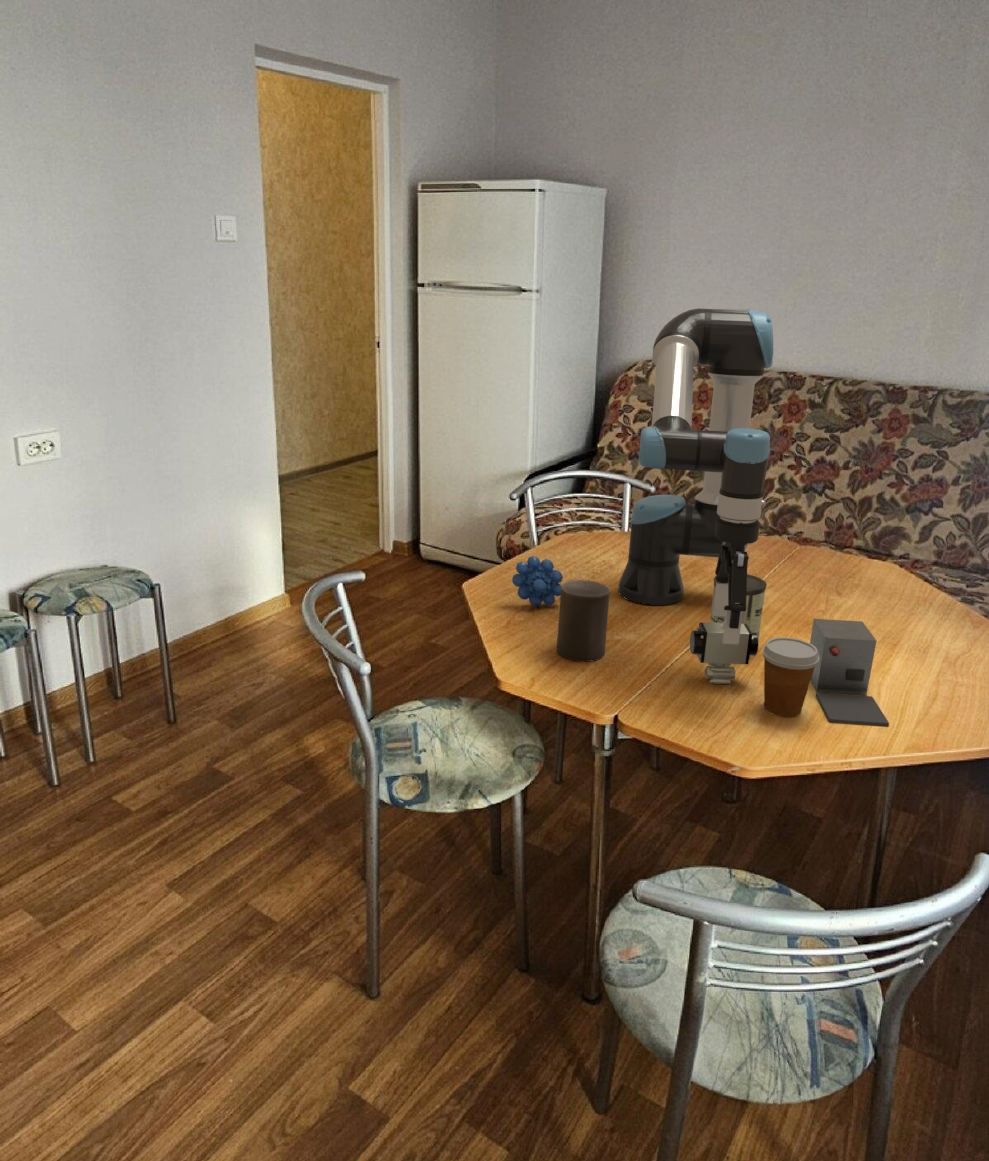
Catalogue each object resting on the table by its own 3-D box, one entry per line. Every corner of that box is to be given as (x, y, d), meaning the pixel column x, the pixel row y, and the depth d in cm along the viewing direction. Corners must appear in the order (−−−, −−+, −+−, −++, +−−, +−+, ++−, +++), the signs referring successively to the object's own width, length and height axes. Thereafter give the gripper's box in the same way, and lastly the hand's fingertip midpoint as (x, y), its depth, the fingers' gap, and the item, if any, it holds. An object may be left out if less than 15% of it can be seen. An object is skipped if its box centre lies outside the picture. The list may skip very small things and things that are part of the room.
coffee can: (709, 632, 193) (716, 569, 188) (759, 639, 190) (768, 576, 185) (703, 650, 183) (711, 585, 179) (756, 658, 180) (765, 593, 176)
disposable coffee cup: (747, 712, 159) (756, 650, 155) (763, 691, 167) (771, 632, 163) (802, 727, 155) (813, 664, 150) (816, 705, 162) (826, 644, 158)
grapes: (513, 614, 199) (515, 562, 195) (509, 602, 206) (511, 552, 201) (565, 613, 200) (568, 562, 196) (560, 602, 207) (563, 552, 203)
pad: (829, 722, 157) (829, 719, 156) (815, 695, 166) (815, 692, 166) (888, 726, 156) (889, 723, 155) (871, 699, 165) (872, 696, 165)
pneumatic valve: (753, 687, 168) (761, 628, 164) (690, 685, 168) (696, 626, 164) (746, 674, 174) (753, 616, 169) (685, 672, 174) (691, 614, 170)
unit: (817, 693, 167) (826, 638, 163) (805, 670, 176) (813, 618, 172) (867, 696, 166) (877, 642, 162) (852, 673, 175) (862, 620, 171)
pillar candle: (575, 665, 175) (581, 593, 170) (546, 647, 183) (551, 577, 178) (614, 656, 180) (621, 585, 175) (585, 638, 188) (590, 570, 183)
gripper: (773, 538, 148) (757, 657, 155) (748, 501, 171) (735, 606, 178) (727, 536, 149) (713, 654, 156) (708, 499, 172) (696, 604, 179)
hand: (725, 629), depth 167 cm, fingers open, 13 cm apart
